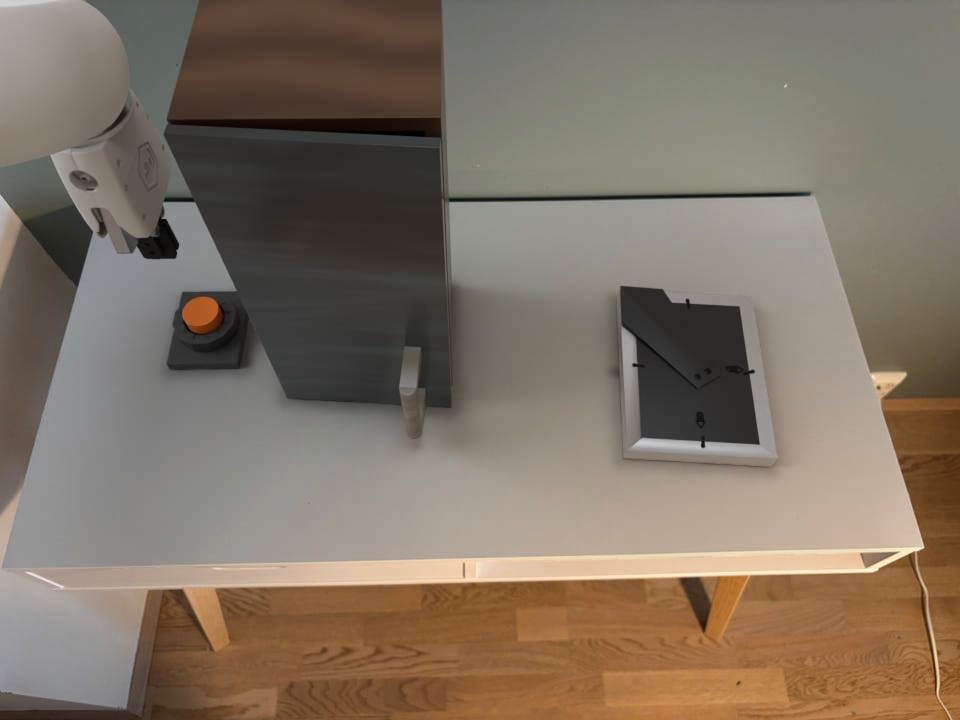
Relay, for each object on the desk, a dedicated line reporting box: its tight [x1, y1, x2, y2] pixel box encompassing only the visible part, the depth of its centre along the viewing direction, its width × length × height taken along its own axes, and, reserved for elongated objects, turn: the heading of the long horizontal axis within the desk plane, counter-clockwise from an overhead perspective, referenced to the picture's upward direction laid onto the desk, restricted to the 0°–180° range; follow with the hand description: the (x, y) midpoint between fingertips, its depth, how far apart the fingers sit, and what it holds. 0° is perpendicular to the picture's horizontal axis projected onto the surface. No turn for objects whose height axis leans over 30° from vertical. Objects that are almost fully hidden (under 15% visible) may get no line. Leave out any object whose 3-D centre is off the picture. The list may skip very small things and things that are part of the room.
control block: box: [166, 290, 250, 370], centre depth 85 cm, size 10×8×3 cm
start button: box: [182, 297, 223, 334], centre depth 83 cm, size 4×4×2 cm
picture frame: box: [616, 285, 779, 468], centre depth 82 cm, size 16×3×21 cm
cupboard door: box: [163, 123, 453, 441], centre depth 64 cm, size 6×18×38 cm, turn 87°
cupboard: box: [165, 0, 454, 387], centre depth 69 cm, size 14×18×38 cm
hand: (162, 252), depth 72 cm, fingers closed
